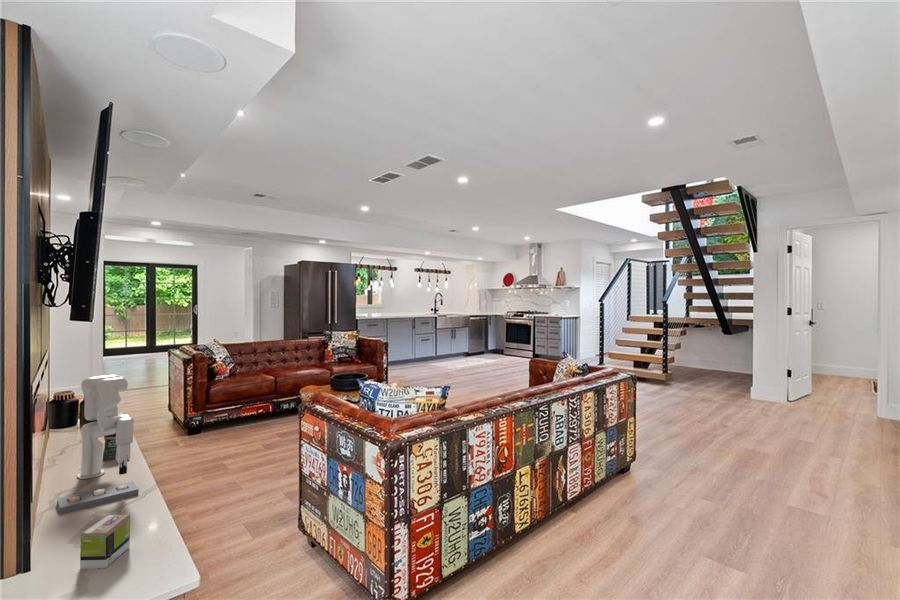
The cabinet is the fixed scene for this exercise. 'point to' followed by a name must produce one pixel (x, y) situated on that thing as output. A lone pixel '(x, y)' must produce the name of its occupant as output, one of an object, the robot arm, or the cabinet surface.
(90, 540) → the tea box
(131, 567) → the cabinet surface
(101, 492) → the cream button
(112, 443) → the green snack bag
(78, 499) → the terracotta button
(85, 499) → the button panel
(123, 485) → the sage button
